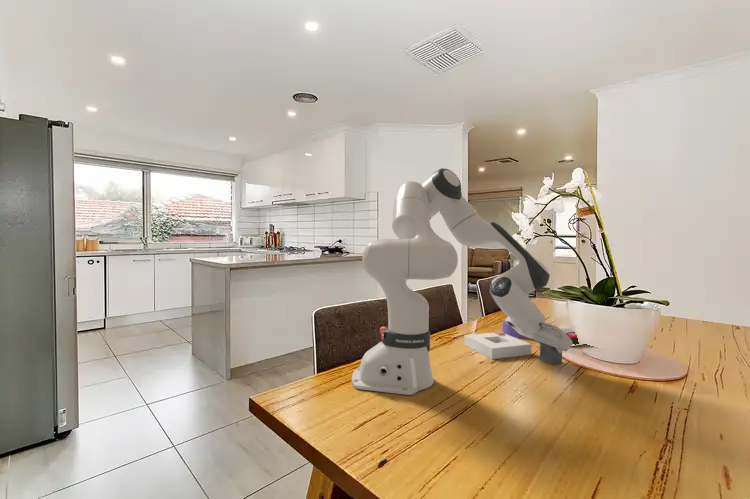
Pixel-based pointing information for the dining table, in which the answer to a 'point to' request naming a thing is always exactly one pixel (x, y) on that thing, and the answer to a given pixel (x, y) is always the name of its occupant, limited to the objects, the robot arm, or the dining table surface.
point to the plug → (549, 354)
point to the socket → (497, 345)
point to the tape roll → (511, 331)
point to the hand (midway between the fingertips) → (552, 348)
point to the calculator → (571, 335)
